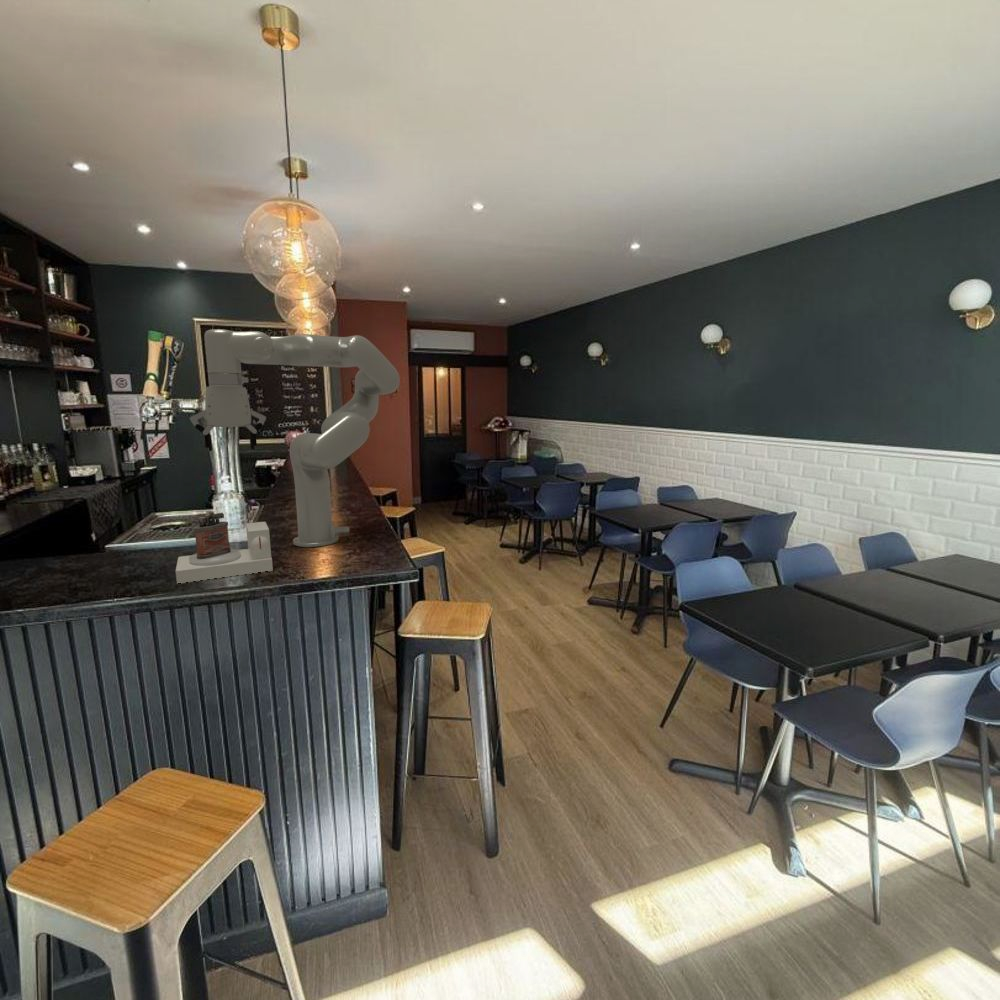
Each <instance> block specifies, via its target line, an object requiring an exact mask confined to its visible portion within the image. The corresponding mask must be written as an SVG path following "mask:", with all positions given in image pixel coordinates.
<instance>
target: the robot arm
mask: <svg viewBox="0 0 1000 1000" xmlns="http://www.w3.org/2000/svg"><path fill="white" fill-rule="evenodd" d="M204 347H205V348H204V349H205V358H206V367H207V377H208V386H205V392H204V393H205V394H204V403H205V404H204V405H205V408H204V410H202V411H200V412H198V413H195V414H194V415H192V416H190V417H189V421H190V422H191V423H192V425H193V426H194V428H195V429H196V430H198V431H199V432H200V433H201V434H203V435H204V436H203V437H204V444H205V448H207V449H208V451H209V452H212V451H213V446H212V445H213V443H212V435H211V431H212V430H213V429H214V428H231V427H233V428H234V427H235V428H237V427H238V428H240V427H243V428H244V427H246V428H247V429H248V430H249V435H248V436H249V444H250V445H249V446H250V450H255V447H257V446H258V445H257V434H258V431H260V430H261V429H262V427H263V426H264V423H266V420H267V416H265V414H264V415H263V414H262V413H260V412H258V411H254V410H252V409H251V406H250V405H251V404H250V401H249V400H250V399H249V394H248V391H247V388H246V387H243V384H246V383H249V377H248V376H244V375H242V364H241V363H243V364H247V365H272V366H273V365H274V366H276V365H277V366H278V365H279V366H293V367H321V368H322V367H328V368H355V367H357V368H358V369H359V370H358V371H357V373H356V374H355V377H354V394H353V396H352V398H350V400H349V401H347V402H346V403H345V404H343V405H342V406H341V407H339V409H337V410H335V411H334V412H332V413H331V414H329V415H328V416H327V417H326V418H325V419H324V421H323V422H322V424H321V428H320V430H321V433H311V432H307V433H306V432H305V433H301V434H299V435H297V436H296V437H294V438H293V440H292V441H291V443H290V445H289V458H290V463H291V467H292V471H293V479H294V492H295V506H296V519H297V520H296V521H297V522H296V523H297V534H298V535H297V537H294V538H293V540H292V544H293V545H294V546H296V547H300V548H301V547H302V548H314V547H315V548H316V547H318V548H319V547H325V546H328V545H332V544H335V543H337V542H339V540H340V539H339V534H349V533H350V526H342V525H341V526H335V525H334V524H333V515H332V514H333V513H332V499H331V498H332V497H331V482H330V476H329V472H328V469H333V468H335V467H337V466H338V465H339V464H341V463H342V462H344V461H345V460H346V459H348V457H349V456H351V455H352V454H353V453H355V452H356V451H357V450H359V448H360V447H362V446H363V445H364V444H365V442H366V441H367V439H368V438H369V435H370V430H371V429H370V422H371V421H372V420H374V418H375V417H376V415H377V414H378V411H379V403H380V402H379V400H380V399H379V397H380V396H379V395H389V394H392V393H394V392H395V391H396V390H398V389H399V387H400V381H401V379H400V378H401V377H400V374H399V372H398V370H397V369H396V368H395V366H394V365H393V364H392V363H391V362H390V361H389V360H388V358H387V357H386V356H385V355H384V354H383V353H382V351H380V350H379V349H378V347H376V346H375V345H374V344H373V343H372V342H371V341H370V340H369V339H367V338H366V337H364V336H362V335H357V334H356V335H349V336H333V335H332V336H329V335H319V334H308V333H307V334H306V333H305V334H293V335H286V336H269V335H268V334H266V333H265V332H262V331H257V330H250V331H249V330H247V331H233V330H230V329H229V330H228V329H220V328H217V329H216V328H215V329H208V330H206V331H205V332H204ZM203 417H205V419H206V423H207V426H206V427H203V426H202V425H201V424H200V423H199V421H198V420H200V419H202V418H203ZM252 417H254V418H256V419H259V420H258V422H257V424H255V426H253V425H252Z"/></svg>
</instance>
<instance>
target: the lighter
mask: <svg viewBox="0 0 1000 1000" xmlns="http://www.w3.org/2000/svg"><path fill="white" fill-rule="evenodd" d="M224 518H225V513H223V512H216V513H213V514H209V513H206V514H204V515H203V516H201V517H197V521H198V524H199V525H197V526H194V527H193V532H194V535H195V545H196V553H197V559H207V558H212V557H216V556H220V555H224V554H227V553H230V552H231V549H232V548H231V547H230V537H229V529H228V528H229V522H228V521H220V520H222V519H224Z"/></svg>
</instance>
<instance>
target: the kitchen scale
mask: <svg viewBox="0 0 1000 1000" xmlns="http://www.w3.org/2000/svg"><path fill="white" fill-rule="evenodd" d="M245 526H246V536H247V548H245V549H244V548H243V549H232V548H230V549H231V552H230V553H227V554H224V555H220V556H216V557H212V558H207V559H197V552H195V553H194V554H192V555H184V556H183V555H181V556H177V557H178V558H177V562H176V567H175V578H176V579H175V580H176V585H179V584H178V583H181V584H187V583H186V582H188V583H194V582H193V581H196V582H201V581H200V580H203V581H208V580H207V579H210V580H215V579H214V578H217V579H223V578H222V577H225V578H231V577H230V576H232V577H237V576H236V575H239V576H245V574H247V575H253V574H252V573H254V574H259V573H258V572H261V573H266V572H265V571H268V572H273V571H274V569H273V558H272V550H271V548H272V547H271V539H270V528H269V526H268V524H267V522H266V521H257V522H247V523H245Z"/></svg>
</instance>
